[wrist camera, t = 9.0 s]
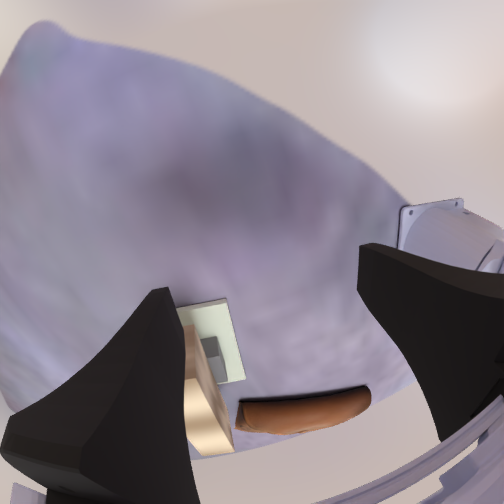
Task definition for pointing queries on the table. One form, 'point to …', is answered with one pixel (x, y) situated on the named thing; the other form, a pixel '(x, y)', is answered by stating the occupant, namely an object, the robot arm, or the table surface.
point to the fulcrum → (216, 338)
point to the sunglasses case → (302, 413)
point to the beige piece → (204, 402)
